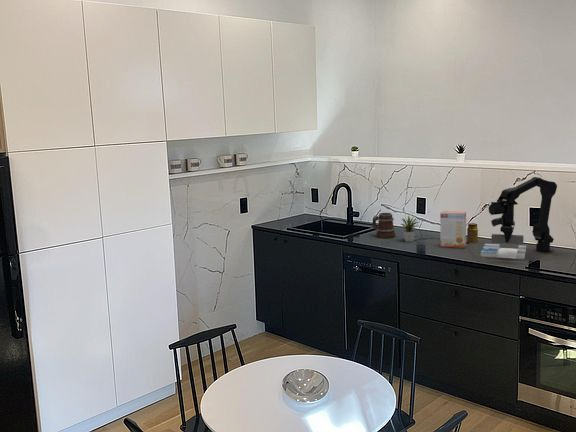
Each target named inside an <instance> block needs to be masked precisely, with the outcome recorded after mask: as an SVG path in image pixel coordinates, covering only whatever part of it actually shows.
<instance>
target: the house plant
mask: <svg viewBox="0 0 576 432" xmlns="http://www.w3.org/2000/svg"><path fill="white" fill-rule="evenodd" d="M414 217H415V215H413V216H412V217H410V215H409V214H408V215H407V218H406V217H405V218H401V221H402V223H400V226H401V225H402V227H401V228H404V230H403V237H404V241H405V242H408V243H409V242H414V239H415V232H416V230H414V229H415V228H416V227H420V224H419V223H420V221H419V217H415V218H414Z"/></svg>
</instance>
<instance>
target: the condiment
mask: <svg viewBox="0 0 576 432" xmlns="http://www.w3.org/2000/svg"><path fill="white" fill-rule="evenodd" d="M478 236H479V229H478V224H477V223H474V222H471V223H468V224H467V227H466V246H468V245H469V243H470V244H477V243H478V240H479V239H478Z"/></svg>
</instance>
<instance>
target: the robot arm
mask: <svg viewBox="0 0 576 432" xmlns="http://www.w3.org/2000/svg"><path fill="white" fill-rule="evenodd" d="M535 187H539V192H540V195H541V199H540V200H541V202H540V207H539V213H538V219H537V220H538V221H537V223H536V225H535V224H534V225H533V226H532V231H531V233H532V236H533V237H534V241H537V243H536V245H535V247H536V249H535V251H536V252H540V253H549V252H550V251H551V244H552V243H553V242H554V237H553V236H552V235H551V234H550V230H551V229H550V227H549V224H548V223H549V218H550V210H551V204H552V199H553V197H554V196H555V194H556V193H557V189H558V184H557V183H556V182H555V181H549V180H546V179H543V178H542V177H539V176H533V177H531V178H530V179H528V180H525V181H524V182H522V183H520V184H519V185H517V186H515V187H508V188H506V189H505V188H504V189H503V190H502V191H501V193H500V195H499V196H498V198H497V199H496V201H491V202H490V205H488V206H489V207H488V213H489V214H490V215H491V216H494V215H501V217H497V218H493V219H492V220H490V222H491V226H492V227H497V226H499V225H501V226H500V233H501V232H502V233H503V234H504V235H505V240H506V243H508V242H509V240H510V237H511V235H513V234H514V233H513V232H514V229H515V225H516V222H515V220H514V217H515V206H516V205H517V206H518V204H519V203H518V202H517V201H516V200H517V199H518V198H519V197H520V195H521V194H523V193H526V192H527V191H529V190H531V189H534V188H535ZM506 243H505V244H506Z"/></svg>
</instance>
